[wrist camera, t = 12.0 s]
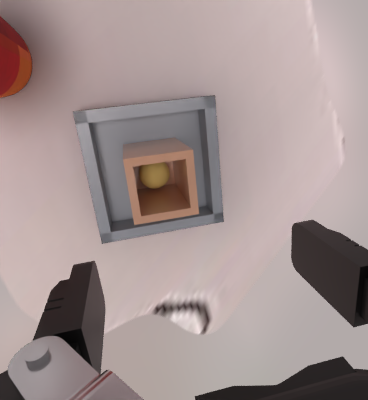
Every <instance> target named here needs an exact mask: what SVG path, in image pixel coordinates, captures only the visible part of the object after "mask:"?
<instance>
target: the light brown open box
mask: <svg viewBox="0 0 368 400" xmlns="http://www.w3.org/2000/svg"><path fill="white" fill-rule="evenodd" d="M123 162H124V168H125V174H126V180H127V186H128V191H129V197H130V203H131V209H132V214H133V220H134V225H138V224H144V223H150V222H155V221H161V220H167V219H173V218H179V217H185V216H190V215H196V214H199V208H198V197H197V186H196V175H195V165H194V154H193V149H191V148H190V147H188V146H187V145H185V144H184V143H182V142H181V141H179V140H178V139H176V138H167V139H160V140H152V141H144V142H137V143H129V144H123ZM162 162H165V163H166V164H167V166H168V168H169V172H170V175H169V179H168V181H167V183H166V184H165V185H164V186H162V187H160V188H156V189H153V188H149V187H147V186H145V185H144V184H143V183H142V181H141V180H140V177H139V170H140V167H141V165H147V164H154V163H162Z"/></svg>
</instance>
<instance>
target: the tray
mask: <svg viewBox="0 0 368 400" xmlns="http://www.w3.org/2000/svg"><path fill="white" fill-rule="evenodd" d="M73 115H74V119H75V124H76V128H77V133H78V137H79V142H80V146H81V151H82V155H83V160H84V164H85V169H86V173H87V178H88V183H89V187H90V192H91V196H92V201H93V205H94V210H95V214H96V219H97V223H98V228H99V232H100V237H101V241H102V244H103V243H108V242H114V241H119V240H125V239H130V238H136V237H141V236H147V235H152V234H158V233H164V232H169V231H175V230H180V229H186V228H191V227H197V226H202V225H208V224H213V223H219V222H224V219H223V204H222V190H221V175H220V160H219V146H218V131H217V116H216V102H215V96H203V97H194V98H185V99H177V100H168V101H159V102H151V103H142V104H133V105H124V106H116V107H107V108H98V109H90V110H81V111H75V112H73ZM167 138H176V139H178V140H179V141H181V142H182V143H184V144H185V145H187V146H188V147H190V148H191V149H193V154H194V165H195V175H196V186H197V197H198V208H199V214H196V215H190V216H185V217H179V218H173V219H167V220H161V221H155V222H150V223H144V224H138V225H134V220H133V214H132V209H131V203H130V197H129V191H128V186H127V180H126V174H125V168H124V162H123V144H129V143H137V142H144V141H152V140H160V139H167Z"/></svg>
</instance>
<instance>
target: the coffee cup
mask: <svg viewBox="0 0 368 400" xmlns="http://www.w3.org/2000/svg"><path fill="white" fill-rule="evenodd" d="M31 72H32V59H31V55H30V52H29V49H28V47H27V45H26V43H25V42H24V40H23V39H22V38H21V36H20V35H19V34H18V33H17V32H16V31H15V30H14V29H13V28H12V27H11V26H10V25H9V24H8V23H7V22H6V21H5V20H4V19H3V18H2V17H0V98H1V97H6V96H10V95H13V94H15V93H17V92H19V91H20V90H21V89H22V88H23V87H24V86H25V85H26V84H27V82H28V81H29V78H30V76H31Z"/></svg>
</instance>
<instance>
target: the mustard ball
mask: <svg viewBox="0 0 368 400" xmlns="http://www.w3.org/2000/svg"><path fill="white" fill-rule="evenodd" d="M169 175H170V172H169V168H168V166H167V164H166V163H165V162H162V163H154V164H147V165H141V167H140V170H139V177H140V180H141V181H142V183H143V184H144V185H145V186H147V187H149V188H153V189H156V188H160V187H162V186H164V185H165V184H166V183H167V181H168V179H169Z"/></svg>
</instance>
